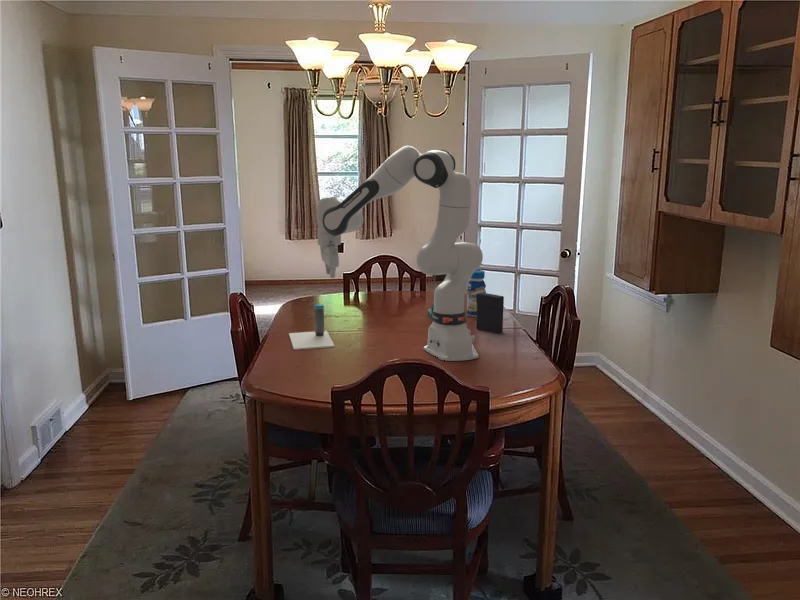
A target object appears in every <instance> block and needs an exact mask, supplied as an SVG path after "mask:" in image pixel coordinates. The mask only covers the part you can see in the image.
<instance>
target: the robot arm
mask: <svg viewBox="0 0 800 600" xmlns="http://www.w3.org/2000/svg"><path fill="white" fill-rule="evenodd" d="M413 178H416V179H417V180H418V181H419V182H421V183H422V184H424V185H428V186H430V187H432V188H434V189H438V190H439V198H438V199H439V200H438V210H437V211H438V212H437V220H436V225H435V228H434V231H433V232H432V234H431V237H430V238H429V240H428V241H427V242H426V243H425V244H424V245H423V246H422V247H421V248H420V249H419V250H418V252H417V254H416V265H417V268H418V269H419V271H420V272H421V273H423V274H424V275H430V276H431V275H432V276H442V275H445V277H444V279H443V281H442V282H441V283H440V284H438V285H437V286H436V287H435V289H434V291H433V295H434V296H433V304H434V310H433V314H432V320H433V321H432V320H431V321H432V323H431V324H430V325H429V327H428V331H427V333H428V334H427V344H426V345H424V346H423V351H425V352H427V353H428V354H430V355H432V356H434V357H435V356H436V357H435V358H437V357H438V358H437V359H439V360H441V361H444V360H445V361H446V362H459V361H469V360H476V359H478V358H480V357H479V353H478V351H477V350H476V348H475V346H474V345H473V343H475V341H476V337H475V335H471V333H472V331H471V329H469V327H468V324H467V323H466V322H467V313H466V310H465V301H466V300H465V299H466V292H467V288H468V287H467V285H468V282H469V281H470V278H471V276H472V274H473V273H474V272H475V271H476V270H479V268H480V267H481V265H482V263H483V259H484V256H483V251H482V249H481V247H480V246H479V245H478V244H476V243H473V242H467V241H461V242H456V241H457V240H458V238H459V237H460V236H461V235H462V234H464V233H465V232H466V231H467V230H468V228H469V226H470V219H471V218H470V215H471V205H472V186H471V180H470V178H469V176H468V175H466V174H465V173H462V172H456V159H455V156H453V154H452V153H451V152H449V151H447V150H445V149H432V150H428V151H425V152H423V153H421V152H419V150H418V149H416V148H415V147H414V146H411V145H404V146H402V147H401V148H399V149H398V150H396V151H395V152H393V153H392V154H391V155H390V156H388V158H386V159H385V160H384V162H382V163H381V164H380V166H379V167H377V169H375V171H374V172H373V173H372V174H371V175H370V176H369V177H368V178H367V179H366V180H365V181H364V182H363V183H362V184H360V185H359V186H358V187H357V188H356V189H354V191H352V192H351V193H350V194H349V195H348V196H347V197H345V199H343V200H340V198H339V197H337V196H330V197H324V198H321V199H319V200H318V202H317V207H316V222H317V225H318V226H317V245H318V246H319V249H320V256H321V260H322V261H323V263H324V266H325V273H326V275H329V277H330V278H331V279H335V278H336V269H337V268H339V267H340V266H339V265H340V259H339V257H340V256H339V245H342V235H343V234H347V233H352V232H356V231H358V230H361V228H362V227H363V224H364V222H365V221H364V220H365V218H364V214H363V211H362V209H363V208H364V207H366V205H368V204H369V203H371V202H373V201H376V200H378V199H382V198H386V197H390V196H392V195H395V194H396V193H397V192H399V191H401V190H402V189H403V188H404V187H405V186H406V185H407V184H408V183H409V182H410V181H411V180H412V179H413Z"/></svg>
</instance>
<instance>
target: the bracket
mask: <svg viewBox="0 0 800 600" xmlns="http://www.w3.org/2000/svg"><path fill="white" fill-rule="evenodd" d="M433 310H434V303H431V308H428V309H427V316H428V315H429V316H428V317H429V318H430V319H432V314H433Z"/></svg>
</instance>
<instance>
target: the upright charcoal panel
mask: <svg viewBox="0 0 800 600" xmlns="http://www.w3.org/2000/svg"><path fill="white" fill-rule="evenodd" d="M504 300H505V297H504V296H503V295H497V294H492V293H488V292H486V293H478V294H477V296H476V303H477V317H476V327H475V328H476V330H479V331H483V330H484V331H483V332H489V333H493V334H496V335H497V334H501V333H503V329H504V327H503V326H504Z"/></svg>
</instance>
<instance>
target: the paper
mask: <svg viewBox="0 0 800 600" xmlns="http://www.w3.org/2000/svg"><path fill="white" fill-rule="evenodd" d="M288 336H289V338H290V341H291V346H292V349H293V350H294V351H299V350H301V351H302V350H311V349H312V350H313V349H324V348H325V349H326V348H335V345H336V344H335V343H334V342H333V340H332V338H331V336H330V335H329V332H328V331H327V330H324V335H323V336H316V333H315V331H303V332H289V333H288Z"/></svg>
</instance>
